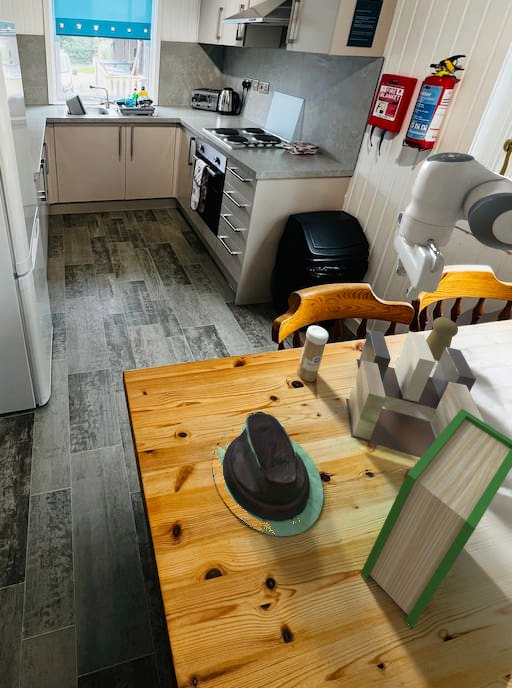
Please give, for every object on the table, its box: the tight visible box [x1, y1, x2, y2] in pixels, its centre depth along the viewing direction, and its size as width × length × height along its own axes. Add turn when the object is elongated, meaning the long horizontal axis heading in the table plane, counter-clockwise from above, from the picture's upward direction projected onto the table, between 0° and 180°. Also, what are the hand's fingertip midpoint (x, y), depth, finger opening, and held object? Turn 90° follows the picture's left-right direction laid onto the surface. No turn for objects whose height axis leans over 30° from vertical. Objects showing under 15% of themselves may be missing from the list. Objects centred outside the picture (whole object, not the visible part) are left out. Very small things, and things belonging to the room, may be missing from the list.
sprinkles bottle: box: [296, 325, 329, 383], centre depth 93 cm, size 5×5×13 cm
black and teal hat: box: [212, 411, 324, 537], centre depth 72 cm, size 15×19×20 cm
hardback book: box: [360, 409, 512, 629], centre depth 57 cm, size 18×7×24 cm, turn 125°
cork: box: [425, 316, 459, 361], centre depth 101 cm, size 6×6×11 cm
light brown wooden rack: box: [345, 360, 486, 459], centre depth 79 cm, size 20×10×13 cm, turn 72°
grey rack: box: [356, 329, 477, 410], centre depth 91 cm, size 20×10×11 cm, turn 72°
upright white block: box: [394, 330, 436, 402], centre depth 90 cm, size 3×9×12 cm, turn 162°
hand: (405, 285), depth 87 cm, fingers open, 8 cm apart
